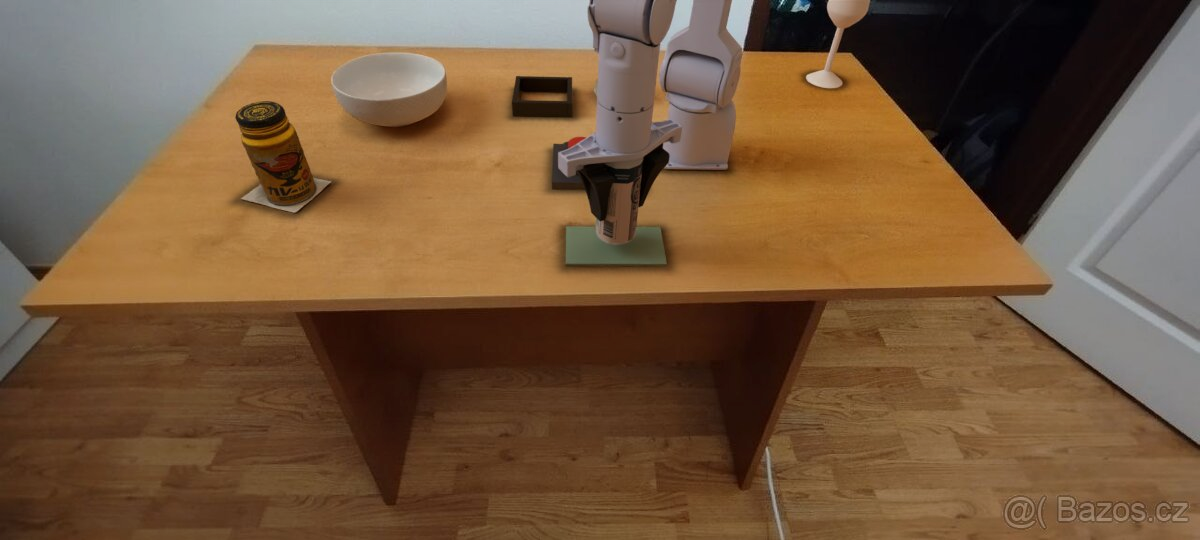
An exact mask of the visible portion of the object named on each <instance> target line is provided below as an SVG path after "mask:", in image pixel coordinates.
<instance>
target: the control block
mask: <svg viewBox="0 0 1200 540" xmlns="http://www.w3.org/2000/svg"><path fill="white" fill-rule="evenodd" d="M568 142H569V140H567V141H565V142H562V143H553V145H552V167H551V168H552V169H551V190H577V191H578V190H579V191H580V190H584V191H585V188H584V185H583V183H582V181H581V179H580V177H579V175H578V174H577V172H576V175H574V176H571V177H567V176H566V175H565V174H563V173H562V172H561V170H560V169H559V168H558V152H561V151H564V150H567V149H568Z"/></svg>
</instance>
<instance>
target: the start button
mask: <svg viewBox="0 0 1200 540" xmlns="http://www.w3.org/2000/svg"><path fill="white" fill-rule="evenodd" d="M587 137H588V136H575V137H572V138H570V139H569V140H568V141H569V142H568V141H567V142H568V149H569V148H571V147H573V146H574V145H576V144H577V143H579V142H581V141H582V140H584V139H585V138H587Z"/></svg>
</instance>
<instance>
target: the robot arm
mask: <svg viewBox="0 0 1200 540" xmlns="http://www.w3.org/2000/svg"><path fill="white" fill-rule="evenodd" d="M677 1H678V0H589V2H588V5H587V7H586V9H587V10H586V11H587V12H586V13H587V21H588V25H589V27H590V29H591V32H592V37H593V38H592V48H593V50H594V52H596V53H597V54H598V56H597V57H598V59H597V78H598V84H597V97H596V114H595V115H596V116H595V117H596V118H595V132H594V133H593V132H592V134H590V135H588V136H586V137H587V138H585V139H584V140H582V141H581V142H579V143H577V144H576V145H574V146H573V147H571V148H569V149H567V150H564V151H561V152H558V168H559V169H560V170H561V172H562V173H563V174H565V175H566V176H567V177H571V176H574V175H576V172H577V174H578V175H579V177H580V179H581V181H582V183H583V185H584V188H585V190H584V191H585V193H586V196H587V200H588V203H589V208H590V213H591V214H592V216H594V217H595V218H597V219H598V220H599V221H603V220H605V219H606V216H607V208H608V198H609V193H610V190H611V187H612V185H613V183H614V181H615V178H614V177H613V176H612V175H610V174H609V173H608V172H607V167H605V166H604V163H606V162H618V161H629V160H635V159H639V158H641V157H644V158H643V167H642V177H641V187H640V196H639V206H638V209H639V208H642V207H644V204H645V201H646V199H647V197H648V195H649V193H650V191H651V188H652V186H653V185H654V182H655V181H656V179H657V178H658V176H659V175H660V173H661V172H662V171H663V170H703V171H705V170H706V171H707V170H708V171H709V170H710V171H713V170H714V171H715V170H716V171H727V170H728V168H729V165H728V161H729V158H730V157H729V156H730V152H731V147H732V143H733V138H734V135H735V129H736V123H737V121H736V119H737V112H736V105H735V102H734V100H733V98H734V96H735V94H736V92H737V89H738V85H739V83H740V77H741V67H742V66H741V64H742V59H743V47H742V46H741V45H740V43H739V42H738V41H737V40H736V39H735V38H734V37H733V35H732V34H731V33H730V32H729V29H727V25H728V22H729V17H730V12H731V7H732V3H733V0H692V5H691V11H690V17H689V24H688V26H686V27H684V28H682V29H681V30H678V31H677V32H675V33H674V34H673V35H672V36H671V37H670V39H669V40H668V42H667V44H666V49H665V53H664V56H663V59H662V61H661V65H660V67H659V60H660V51H661V50H660V49H661V43H662V42H663V41H664V40H665V38H666V37H667V34H668V32H669V30H670V28H671V25H672V22H673V18H674V15H675V14H674V13H675V10H676V4H677ZM658 67H659V68H660V69H658ZM658 70H659V73H658ZM657 77H658V83H659V86H660V90H661V91H662V92H663V93H666V94H665V101H668V102H669V103H668V110H667V118H666V119H665V120H660V121H659V120H658V121H653V115H654V106H655V98H656V97H655V96H656V88H657V87H656V86H657Z"/></svg>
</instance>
